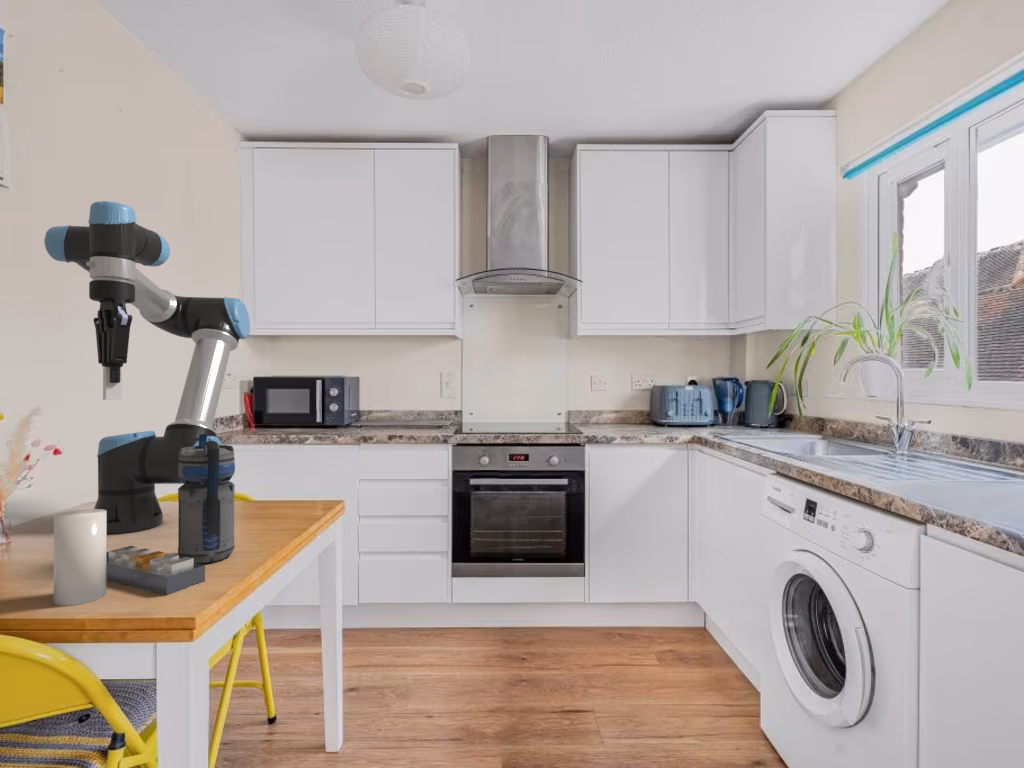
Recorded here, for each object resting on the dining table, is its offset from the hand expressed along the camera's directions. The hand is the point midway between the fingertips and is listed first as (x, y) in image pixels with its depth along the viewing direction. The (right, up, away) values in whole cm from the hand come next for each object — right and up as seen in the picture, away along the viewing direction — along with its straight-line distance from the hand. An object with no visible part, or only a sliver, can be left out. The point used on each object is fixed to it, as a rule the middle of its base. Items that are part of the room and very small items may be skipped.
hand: (112, 399), depth 113 cm
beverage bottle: (+18, -33, +2) cm, 37 cm away
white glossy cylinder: (+8, -33, -19) cm, 39 cm away
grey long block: (+14, -33, -11) cm, 37 cm away
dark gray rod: (-1, -32, +1) cm, 32 cm away
